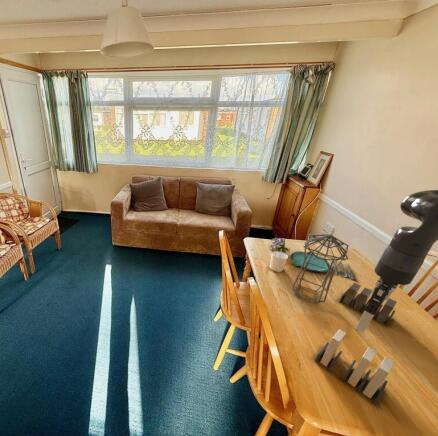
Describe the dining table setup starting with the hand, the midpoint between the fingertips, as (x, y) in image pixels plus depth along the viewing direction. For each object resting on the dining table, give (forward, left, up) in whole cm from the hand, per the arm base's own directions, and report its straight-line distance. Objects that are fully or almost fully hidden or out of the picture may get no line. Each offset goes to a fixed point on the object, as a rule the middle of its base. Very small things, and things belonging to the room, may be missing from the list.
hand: (373, 307), depth 70 cm
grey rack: (+4, -38, -28) cm, 47 cm away
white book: (0, 0, -9) cm, 9 cm away
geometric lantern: (+23, -26, -28) cm, 44 cm away
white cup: (+43, -35, -28) cm, 62 cm away
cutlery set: (+30, -59, -28) cm, 71 cm away
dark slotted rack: (-2, +3, -28) cm, 28 cm away
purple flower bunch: (+52, -55, -28) cm, 80 cm away
